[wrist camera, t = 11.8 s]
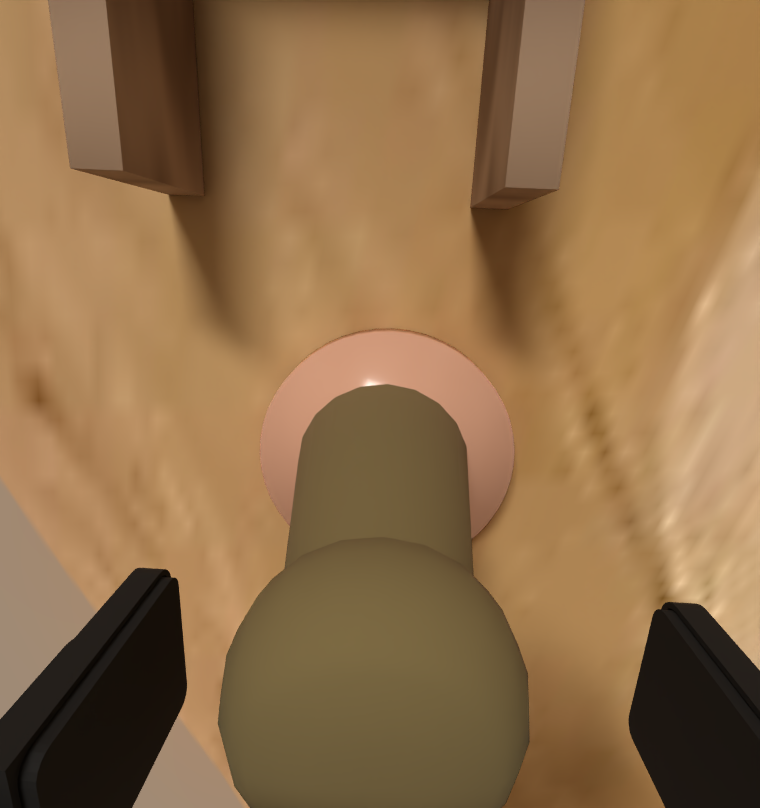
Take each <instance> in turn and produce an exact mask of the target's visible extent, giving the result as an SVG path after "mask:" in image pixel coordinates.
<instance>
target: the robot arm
mask: <svg viewBox="0 0 760 808" xmlns="http://www.w3.org/2000/svg"><path fill="white" fill-rule="evenodd" d="M186 691H187V679H186V667H185V655H184V643H183V631H182V619H181V608H180V596H179V584H178V580H177V579H176V578H171V576H170V573H169V571H168V570H166V569H150V568H137V569H135V570H134V571H133V572H132V573H131V574H130V575H129V576H128V578H127V579H126V580H125V581H124V582H123V583H122V584H121V586H120V587H119V588H118V589H117V590H116V591H115V593H114V594H113V595H112V596H111V597H110V598H109V599H108V601H107V602H106V603H105V604H104V605H103V606H102V607H101V609H100V610H99V611H98V612H97V613H96V614H95V615H94V617H93V618H92V619H91V620H90V621H89V622H88V623H87V625H86V626H85V627H84V628H83V629H82V630H81V631H80V633H79V634H78V635H77V636H76V637H75V638H74V639H73V640H71V641H70V642H69V643H68V644H67V645H66V646H65V647H64V648H63V649H62V650H61V651H60V652H59V653H58V655H57V656H56V657H55V658H54V659H53V660H52V661H51V663H50V664H49V665H48V666H47V667H46V668H45V670H43V672H42V673H41V674H40V675H39V676H38V677H37V678H36V680H35V681H34V682H33V683H32V684H31V685H30V687H29V688H28V689H27V690H26V691H25V692H24V693H23V694H22V695H21V697H20V698H19V699H18V700H17V701H16V702H15V703H14V705H13V706H12V707H11V708H10V709H9V710H8V711H7V712H6V714H5V715H4V716H3V717H2V718H1V719H0V808H132V807H133V805H134V803H135V801H136V799H137V797H138V794H139V792H140V791H141V789H142V787H143V785H144V783H145V781H146V778H147V776H148V774H149V772H150V770H151V768H152V766H153V764H154V762H155V760H156V758H157V756H158V754H159V752H160V750H161V748H162V746H163V744H164V742H165V740H166V738H167V736H168V734H169V732H170V730H171V728H172V726H173V724H174V722H175V720H176V718H177V716H178V714H179V712H180V710H181V708H182V706H183V703H184V700H185V696H186ZM629 729H630V733H631V737H632V739H633V742H634V744H635V746H636V748H637V750H638V752H639V754H640V756H641V758H642V760H643V762H644V764H645V766H646V768H647V770H648V772H649V775H650V777H651V779H652V781H653V783H654V785H655V787H656V789H657V791H658V793H659V795H660V797H661V799H662V801H663V803H664V806H665V808H760V670H759V669H758V668H757V667H756V666H755V665H754V664H753V663H752V661H751V660H750V659H749V658H748V657H747V656H746V655H745V653H744V652H743V651H742V650H741V649H740V648H739V647H738V645H737V644H736V643H735V642H734V641H733V640H732V639H731V637H730V636H729V635H728V634H727V633H726V632H725V631H724V630H723V628H722V627H721V626H720V625H719V624H718V623H717V622H716V620H715V619H714V618H713V617H712V616H711V615H710V614H709V612H708V611H707V610H706V609H705V608H704V607H703V606H701V605H699V604H692V603H676V602H667V603H665V604H664V605H663V606H662V609H658V610H656V611H655V612H654V614H653V617H652V621H651V626H650V630H649V634H648V638H647V642H646V647H645V651H644V655H643V659H642V663H641V668H640V672H639V676H638V680H637V684H636V689H635V693H634V697H633V701H632V706H631V710H630V714H629Z"/></svg>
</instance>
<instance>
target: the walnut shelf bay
mask: <svg viewBox="0 0 760 808" xmlns="http://www.w3.org/2000/svg"><path fill="white" fill-rule="evenodd" d="M48 4H49V11H50V19H51V27H52V34H53V42H54V49H55V57H56V64H57V72H58V80H59V87H60V95H61V102H62V110H63V117H64V125H65V133H66V140H67V148H68V155H69V163H70V168H71V169H75V170H79V171H82V172H86V173H90V174H94V175H97V176H101V177H105V178H108V179H112V180H116V181H120V182H123V183H127V184H131V185H135V186H138V187H142V188H146V189H150V190H153V191H157V192H161V193H164V194H172V195H194V196H204V180H203V163H202V146H201V129H200V112H199V95H198V78H197V61H196V44H195V27H194V10H193V0H48ZM584 5H585V0H489V8H488V19H487V30H486V41H485V52H484V63H483V74H482V85H481V96H480V107H479V118H478V129H477V140H476V151H475V162H474V173H473V184H472V195H471V206H470V208H491V209H510V208H512V207H515V206H517V205H520V204H523V203H525V202H528V201H530V200H533V199H536V198H538V197H541V196H543V195H546V194H548V193H551V192H554V191H556V190H559V185H560V177H561V170H562V163H563V156H564V149H565V142H566V134H567V127H568V120H569V113H570V106H571V98H572V91H573V84H574V77H575V70H576V63H577V55H578V48H579V41H580V34H581V27H582V19H583V12H584Z"/></svg>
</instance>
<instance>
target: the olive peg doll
mask: <svg viewBox="0 0 760 808" xmlns="http://www.w3.org/2000/svg"><path fill="white" fill-rule="evenodd" d="M218 726H219V730H220V733H221V737H222V741H223V745H224V749H225V752H226V756H227V760H228V764H229V767H230V771H231V775H232V779H233V782H234V786H235V788H236V789H237V790H238V792H239V793H240V795H241V796H242V797H243V799H244V800H245V801H246V803H247V804H248V806H249V807H250V808H502V807H503V806H504V805H505V803H506V802H507V799H508V797H509V795H510V792H511V790H512V787H513V785H514V783H515V780H516V778H517V775H518V773H519V770H520V767H521V765H522V762H523V759H524V756H525V753H526V750H527V747H528V744H529V697H528V673H527V670H526V667H525V664H524V661H523V658H522V655H521V652H520V649H519V647H518V644H517V642H516V640H515V637H514V635H513V633H512V631H511V628H510V626H509V624H508V622H507V619H506V617H505V615H504V613H503V610H502V609H501V608H500V606H499V605H498V604H497V602H496V601H495V600H494V598H493V597H492V596H491V594H490V593H489V591H488V590H487V589H486V588H485V587H484V586H483V585H482V584H481V583H480V582H479V581H478V580H477V579H476V578H475V577H474V575H473V557H472V538H471V519H470V501H469V482H468V464H467V446H466V444H465V442H464V439H463V437H462V434H461V432H460V430H459V427H458V425H457V423H456V422H455V421H454V419H453V418H452V417H451V416H450V415H449V414H448V413H447V412H446V411H445V409H444V408H443V407H442V406H441V405H440V404H439V403H438V402H436V401H434V400H432V399H431V398H429V397H427V396H425V395H424V394H422V393H420V392H418V391H416V390H414V389H409V388H404V387H400V386H395V385H390V384H383V385H372V386H362V387H358V388H356V389H353V390H351V391H349V392H346V393H344V394H342V395H339V396H337V397H335V398H334V399H332V400H331V401H330V402H329V403H328V404H327V405H326V406H325V407H323V408H322V409H321V410H320V411H319V412H318V413H317V414H315V416H314V418H313V419H312V421H311V423H310V425H309V426H308V428H307V430H306V432H305V433H304V435H303V437H302V442H301V448H300V454H299V459H298V467H297V474H296V482H295V490H294V498H293V506H292V514H291V522H290V530H289V538H288V546H287V554H286V562H285V569H284V570H283V571H282V572H280V573H279V574H278V575H277V576H275V577H274V578H273V579H272V580H271V581H270V582H269V584H268V585H267V586H266V587H265V588H264V589H263V590H262V592H261V593H260V594H259V595H258V596H257V598H256V600H255V601H254V603H253V605H252V606H251V608H250V610H249V611H248V613H247V615H246V616H245V618H244V620H243V621H242V623H241V625H240V626H239V628H238V630H237V632H236V634H235V637H234V639H233V641H232V644H231V646H230V648H229V651H228V653H227V656H226V662H225V669H224V676H223V683H222V689H221V698H220V707H219V717H218Z"/></svg>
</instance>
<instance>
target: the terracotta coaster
mask: <svg viewBox="0 0 760 808" xmlns="http://www.w3.org/2000/svg"><path fill="white" fill-rule="evenodd" d="M383 384H390V385H395V386H400V387H404V388H409V389H414V390H416V391H418V392H420V393H422V394H424V395H425V396H427V397H429V398H431V399H432V400H434V401H436V402H438V403H439V404H440V405H441V406H442V407H443V408H444V409H445V411H446V412H447V413H448V414H449V415H450V416H451V417H452V418H453V419H454V421H455V422H456V423H457V425H458V427H459V430H460V432H461V434H462V437H463V439H464V442H465V444H466V446H467V464H468V482H469V501H470V519H471V538H473V537H475V536H476V535H477V534H478V533H479V532H480V531H481V530H482V529H483V528H484V527H485V526H486V525H487V524H488V522H489V521H490V520H491V519H492V517H493V516H494V514H495V513H496V511H497V510H498V508H499V507H500V505H501V503H502V501H503V499H504V497H505V495H506V492H507V489H508V486H509V484H510V481H511V476H512V471H513V466H514V451H515V450H514V437H513V431H512V427H511V422H510V419H509V416H508V413H507V411H506V408H505V406H504V403H503V402H502V400H501V398H500V396H499V394H498V393H497V391H496V389H495V388H494V387H493V385H492V384H491V383H490V381H489V380H488V379H487V377H486V376H485V375H484V374H483V372H482V371H481V370H480V369H479V368H478V367H477V366H476V365H475V364H474V363H473V362H472V361H471V360H470V359H469V358H468V357H466V356H465V355H464V354H462V353H461V352H460V351H458V350H457V349H456V348H454V347H452V346H450V345H449V344H447V343H445V342H443V341H441V340H439V339H436V338H434V337H431V336H429V335H426V334H422V333H418V332H414V331H410V330H401V329H372V330H365V331H359V332H355V333H352V334H349V335H345V336H342V337H340V338H338V339H335V340H333V341H331V342H328V343H327V344H325V345H323V346H322V347H320V348H319V349H317V350H315V351H314V352H312V353H311V354H310V355H309V356H308V357H306V358H305V359H304V360H303V361H301V363H300V364H299V365H298V366H297V367H296V368H295V369H294V370H293V371H292V372H291V373H290V375H289V376H288V377H287V378H286V379H285V381H284V382H283V383H282V385H281V386H280V388H279V389H278V391H277V392H276V393H275V395H274V397H273V399H272V401H271V403H270V405H269V407H268V410H267V413H266V416H265V419H264V422H263V427H262V432H261V438H260V460H261V469H262V473H263V477H264V481H265V485H266V487H267V490H268V492H269V495H270V497H271V499H272V501H273V503H274V505H275V506H276V508H277V510H278V512H279V513H280V514H281V516H282V517H283V518H284V520H285V521H286V522H287V523H288V525H289V526H290V522H291V514H292V506H293V498H294V490H295V482H296V474H297V467H298V459H299V454H300V448H301V442H302V437H303V435H304V433H305V432H306V430H307V428H308V426H309V425H310V423H311V421H312V419H313V418H314V416H315V414H317V413H318V412H319V411H320V410H321V409H322V408H323V407H325V406H326V405H327V404H328V403H329V402H330V401H331V400H332V399H334V398H335V397H337V396H339V395H342V394H344V393H346V392H349V391H351V390H353V389H356V388H358V387H362V386H372V385H383Z"/></svg>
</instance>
